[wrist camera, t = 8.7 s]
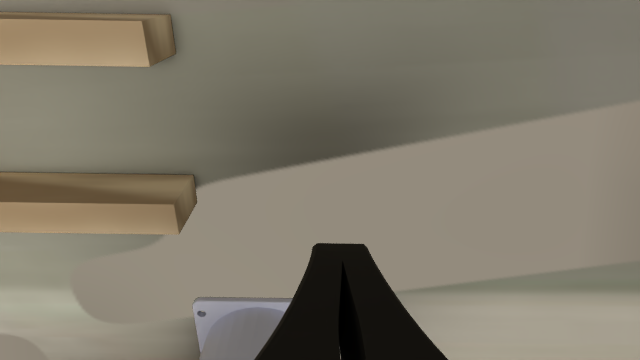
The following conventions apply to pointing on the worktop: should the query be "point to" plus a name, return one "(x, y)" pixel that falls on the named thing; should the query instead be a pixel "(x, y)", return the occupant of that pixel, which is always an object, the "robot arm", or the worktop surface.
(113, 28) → the beige upright blocks
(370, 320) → the robot arm
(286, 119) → the worktop surface
